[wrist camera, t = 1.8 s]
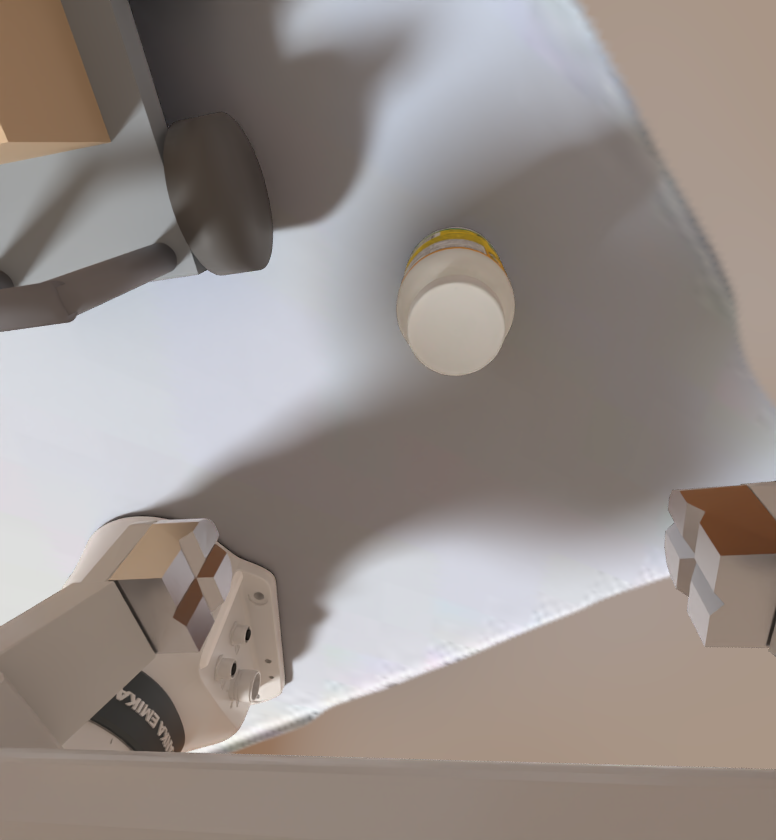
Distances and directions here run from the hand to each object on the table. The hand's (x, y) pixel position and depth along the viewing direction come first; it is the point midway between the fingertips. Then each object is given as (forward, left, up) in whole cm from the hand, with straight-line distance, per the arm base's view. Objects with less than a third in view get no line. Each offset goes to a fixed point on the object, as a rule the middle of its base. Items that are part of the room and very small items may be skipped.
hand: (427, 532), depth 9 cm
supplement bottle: (-1, -1, -23) cm, 23 cm away
